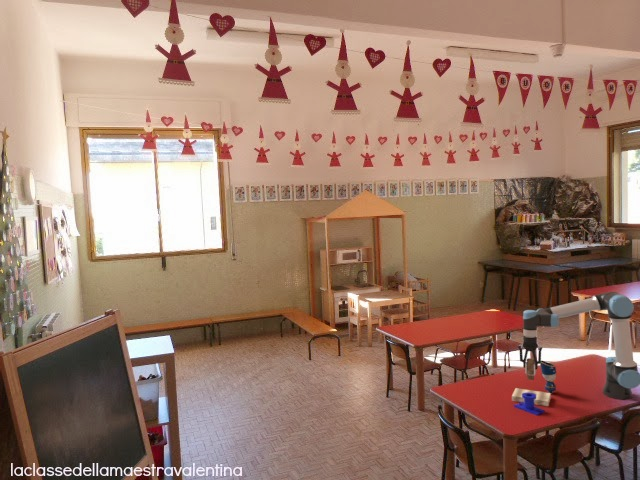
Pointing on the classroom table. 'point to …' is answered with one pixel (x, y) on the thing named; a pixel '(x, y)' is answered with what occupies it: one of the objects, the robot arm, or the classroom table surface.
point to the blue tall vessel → (549, 375)
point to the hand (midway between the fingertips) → (530, 373)
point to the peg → (530, 369)
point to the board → (541, 399)
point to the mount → (529, 404)
